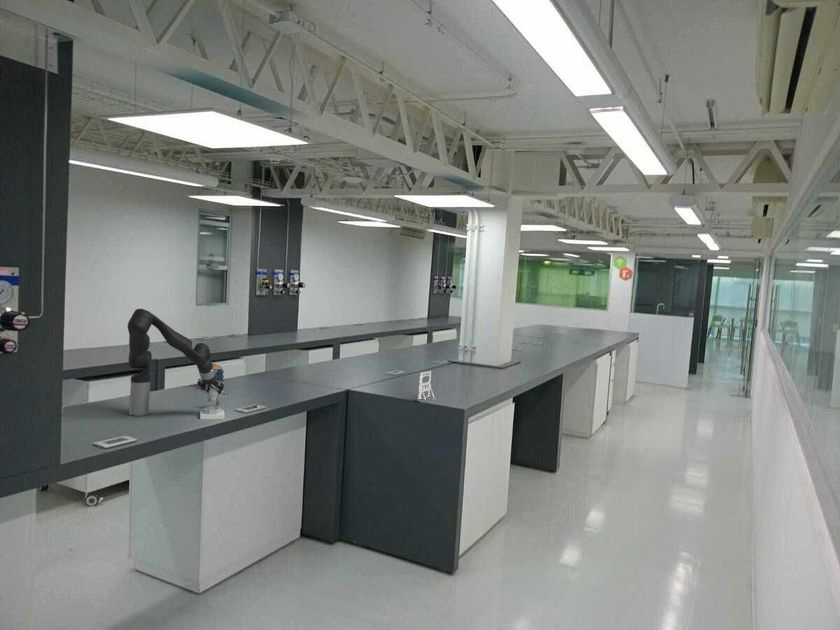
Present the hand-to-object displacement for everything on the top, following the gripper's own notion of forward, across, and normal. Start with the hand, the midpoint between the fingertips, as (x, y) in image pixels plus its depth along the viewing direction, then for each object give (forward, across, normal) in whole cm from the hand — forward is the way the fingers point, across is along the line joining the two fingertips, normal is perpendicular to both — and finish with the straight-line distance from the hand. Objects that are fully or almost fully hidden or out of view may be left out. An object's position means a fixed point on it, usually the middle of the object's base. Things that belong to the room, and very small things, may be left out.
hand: (214, 392), depth 322 cm
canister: (+57, -25, +40) cm, 74 cm away
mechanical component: (+19, -3, +2) cm, 20 cm away
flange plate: (+8, 0, -10) cm, 13 cm away
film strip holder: (+62, +111, +44) cm, 135 cm away
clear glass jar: (+2, 0, -4) cm, 5 cm away
